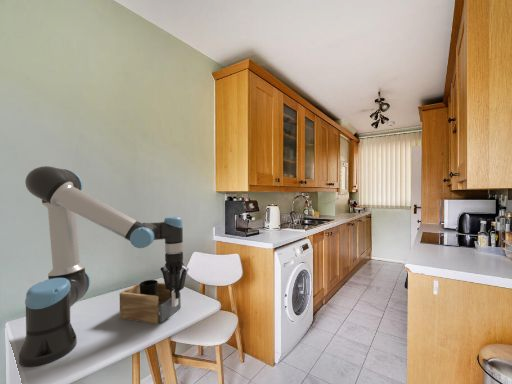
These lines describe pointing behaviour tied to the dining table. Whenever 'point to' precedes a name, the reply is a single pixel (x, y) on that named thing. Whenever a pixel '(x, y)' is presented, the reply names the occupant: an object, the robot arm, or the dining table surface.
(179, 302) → the grey drawer
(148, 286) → the cup
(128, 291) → the housing
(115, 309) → the dining table surface
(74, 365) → the dining table surface
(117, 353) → the dining table surface
